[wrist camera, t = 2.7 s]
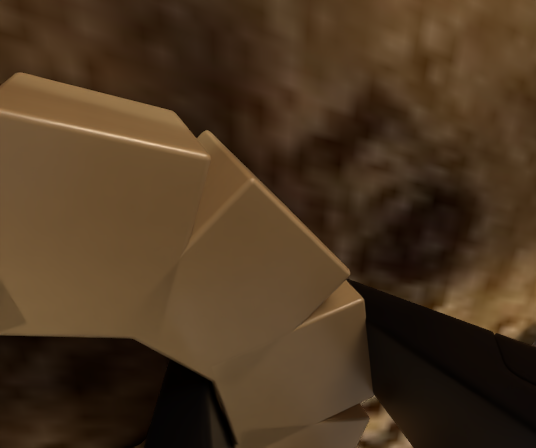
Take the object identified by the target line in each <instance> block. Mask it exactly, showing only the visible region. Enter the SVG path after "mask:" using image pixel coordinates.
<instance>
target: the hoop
mask: <svg viewBox="0 0 536 448" xmlns="http://www.w3.org/2000/svg"><path fill="white" fill-rule="evenodd" d="M349 276H350V271H349V269H348V268H347V267H346V266H345V265H344V264H343V263H342V262H341V261H340V260H339V259H338V258H337V257H336V256H335V255H334V254H333V253H332V252H331V251H330V250H329V249H328V248H327V247H326V246H325V245H324V244H323V243H322V242H321V241H320V240H319V239H318V238H317V237H316V236H315V235H314V234H313V233H312V232H311V231H310V230H309V229H308V228H307V227H306V226H305V225H304V224H303V223H302V222H301V221H300V220H299V219H298V218H297V217H296V216H295V215H294V214H293V213H292V212H291V211H290V210H289V209H288V208H287V207H286V206H285V205H284V204H283V203H282V202H281V201H280V200H279V199H278V198H277V197H276V196H275V195H274V194H273V193H272V192H271V191H270V190H269V189H268V188H267V187H266V186H265V185H264V184H263V183H262V182H261V181H260V180H259V179H258V178H257V177H256V176H255V175H254V174H253V173H252V172H251V171H250V170H249V169H248V168H247V167H246V166H245V165H244V164H243V163H242V162H241V161H240V160H239V159H238V158H237V157H235V156H234V155H233V154H232V153H231V152H230V151H229V150H228V149H227V148H226V147H225V146H224V145H223V144H222V143H221V142H220V141H219V140H218V139H217V138H216V137H215V136H214V135H213V134H212V133H211V132H210V131H207V130H206V131H204V132H202V133H201V134H200V135H199V137H198V138H196V137H195V136H194V135H193V134H192V132H191V131H190V130H189V129H188V128H187V126H186V125H185V124H184V123H183V121H182V120H181V119H180V118H179V117H178V115H177V114H176V113H175V112H173V111H171V110H167V109H163V108H160V107H156V106H152V105H148V104H144V103H140V102H136V101H132V100H128V99H124V98H120V97H116V96H112V95H108V94H104V93H100V92H97V91H93V90H89V89H85V88H81V87H77V86H73V85H69V84H65V83H61V82H57V81H53V80H49V79H45V78H41V77H37V76H34V75H30V74H26V73H22V72H20V73H15V74H14V75H13V76H12V77H10V78H9V79H8V80H7V81H5V82H4V83H3V84H2V85H1V86H0V335H12V336H51V337H91V338H130V339H135V340H136V341H138V342H140V343H142V344H144V345H146V346H147V347H149V348H151V349H153V350H155V351H157V352H158V353H160V354H162V355H164V356H166V357H168V358H169V359H171V360H173V361H175V362H177V363H179V364H180V365H182V366H184V367H186V368H188V369H190V370H191V371H193V372H195V373H197V374H199V375H201V376H202V377H204V378H206V379H208V380H210V381H212V383H213V386H214V389H215V392H216V395H217V398H218V401H219V404H220V407H221V410H222V413H223V416H224V419H225V422H226V425H227V428H228V431H229V435H230V439H231V443H232V448H356V446H357V444H358V442H359V440H360V438H361V436H362V434H363V432H364V430H365V428H366V426H367V424H368V422H369V416H368V415H367V413H366V412H365V411H364V409H363V408H362V406H361V405H360V403H361V402H363V401H365V400H367V399H369V398H371V397H373V396H374V394H373V387H372V378H371V369H370V359H369V350H368V341H367V331H366V322H365V319H366V312H365V302H364V299H363V297H362V296H361V295H360V294H359V293H358V292H357V291H356V290H355V289H354V288H353V287H352V286H351V285H350V284H349V283H348V282H347V281H346V279H347V278H348V277H349ZM145 441H146V439H145V440H144V441H143V442H142V443H141V444H140V445H138V446H135V447H133V448H143V447H144V444H145Z"/></svg>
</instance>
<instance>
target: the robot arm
mask: <svg viewBox="0 0 536 448" xmlns="http://www.w3.org/2000/svg"><path fill="white" fill-rule="evenodd" d="M346 281H347V282H348V283H349V284H350V285H351V286H352V287H353V288H354V289H355V290H356V291H357V292H358V293H359V294H360V295H361V296H362V297H363V299H364V302H365V312H366V319H365V322H366V331H367V341H368V350H369V359H370V369H371V378H372V387H373V394H374V395H375V396H376V398H377V399H378V400H379V402H380V403H381V404H382V406H383V407H384V408H385V410H386V411H387V412H388V414H389V415H390V416H391V418H392V419H393V420H394V422H395V423H396V425H397V426H398V427H399V429H400V430H401V431H402V433H403V434H404V435H405V437H406V438H407V439H408V441H409V442H410V443H411V445H412V446H413V447H414V448H536V347H535V346H532V345H529V344H526V343H523V342H520V341H517V340H514V339H512V338H509V337H506V336H503V335H501V334H498V333H496V334H495V335H494V333H493V332H492V331H489V330H486V329H484V328H481V327H478V326H475V325H473V324H470V323H467V322H465V321H462V320H459V319H456V318H454V317H451V316H448V315H445V314H443V313H440V312H437V311H434V310H432V309H429V308H426V307H423V306H421V305H418V304H415V303H412V302H410V301H407V300H404V299H401V298H399V297H396V296H393V295H390V294H388V293H385V292H382V291H379V290H377V289H374V288H371V287H368V286H366V285H363V284H360V283H357V282H355V281H352V280H349V279H346ZM143 448H232V443H231V439H230V435H229V431H228V428H227V425H226V422H225V419H224V416H223V413H222V410H221V407H220V404H219V401H218V398H217V395H216V392H215V389H214V386H213V383H212V381H210V380H208V379H206V378H204V377H202V376H201V375H199V374H197V373H195V372H193V371H191V370H190V369H188V368H186V367H184V366H182V365H180V364H179V363H177V362H175V361H173V360H171V359H169V363H168V366H167V369H166V373H165V376H164V380H163V383H162V386H161V390H160V393H159V397H158V400H157V403H156V407H155V410H154V414H153V417H152V420H151V424H150V427H149V431H148V434H147V437H146V441H145V444H144V447H143Z"/></svg>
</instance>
